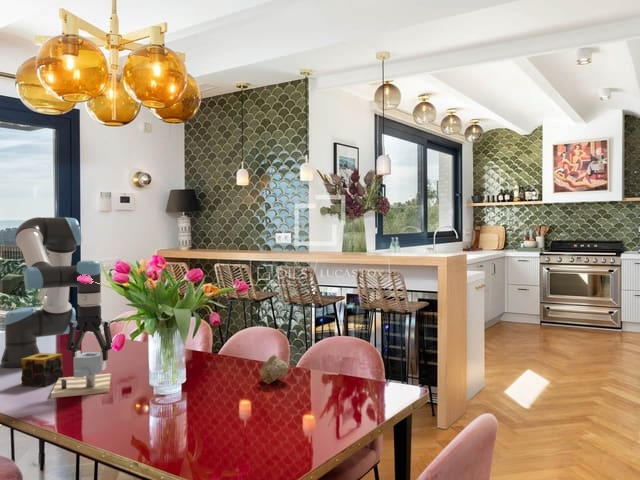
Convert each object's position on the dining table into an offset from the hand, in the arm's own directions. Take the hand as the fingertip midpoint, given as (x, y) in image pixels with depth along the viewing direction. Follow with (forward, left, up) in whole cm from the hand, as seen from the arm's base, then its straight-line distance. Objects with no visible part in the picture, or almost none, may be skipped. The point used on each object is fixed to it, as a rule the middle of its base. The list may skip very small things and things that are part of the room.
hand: (90, 369), depth 188 cm
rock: (+12, +62, -8) cm, 64 cm away
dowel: (0, -9, -6) cm, 10 cm away
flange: (+2, -1, 0) cm, 3 cm away
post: (0, 0, -6) cm, 6 cm away
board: (-6, -3, -7) cm, 10 cm away
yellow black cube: (-18, -18, -8) cm, 26 cm away
